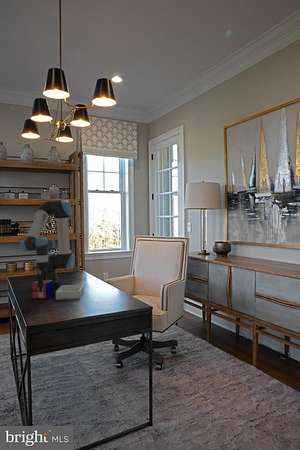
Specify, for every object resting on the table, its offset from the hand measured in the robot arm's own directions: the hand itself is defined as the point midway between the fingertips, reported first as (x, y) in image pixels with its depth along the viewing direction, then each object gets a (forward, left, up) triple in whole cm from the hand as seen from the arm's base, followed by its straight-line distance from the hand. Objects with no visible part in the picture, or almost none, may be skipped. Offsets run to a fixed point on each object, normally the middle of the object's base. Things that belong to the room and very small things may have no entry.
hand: (43, 294), depth 217 cm
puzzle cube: (0, 0, -1) cm, 1 cm away
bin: (0, +17, -1) cm, 18 cm away
